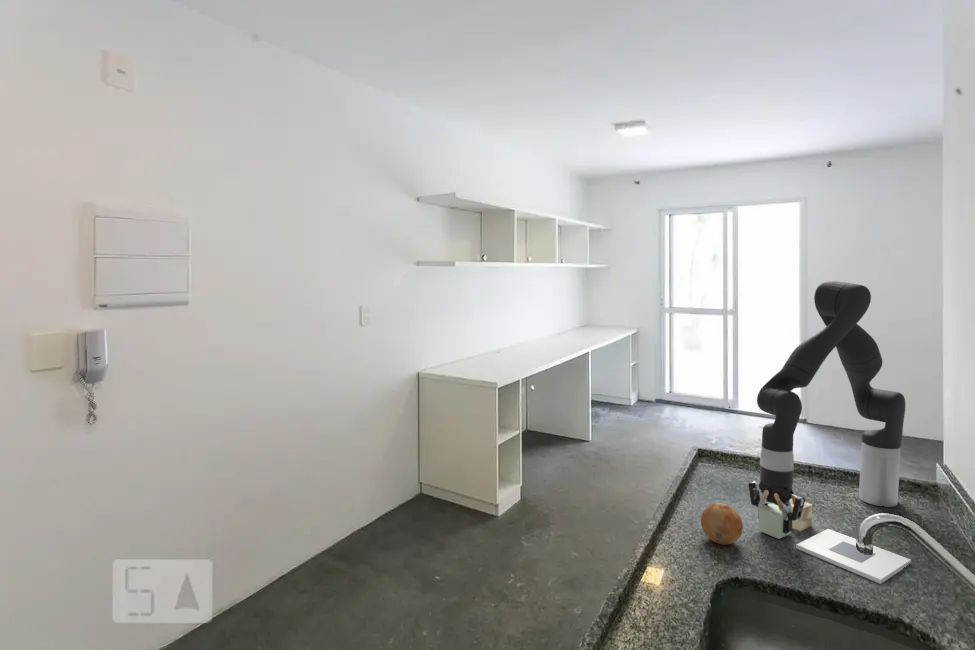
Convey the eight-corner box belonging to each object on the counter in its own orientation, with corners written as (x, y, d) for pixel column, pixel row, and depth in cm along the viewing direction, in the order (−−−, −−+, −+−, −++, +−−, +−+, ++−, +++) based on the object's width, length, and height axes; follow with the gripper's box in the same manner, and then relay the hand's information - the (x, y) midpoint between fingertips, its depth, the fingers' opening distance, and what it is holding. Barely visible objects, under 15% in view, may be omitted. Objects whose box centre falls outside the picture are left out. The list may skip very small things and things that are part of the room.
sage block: (770, 524, 142) (771, 503, 141) (791, 533, 137) (791, 510, 136) (758, 530, 139) (758, 508, 138) (779, 539, 134) (779, 516, 133)
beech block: (790, 518, 147) (791, 497, 146) (811, 526, 142) (812, 504, 141) (779, 523, 144) (780, 502, 143) (800, 531, 139) (801, 509, 139)
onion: (739, 535, 137) (740, 498, 136) (744, 554, 128) (745, 515, 127) (699, 530, 140) (700, 493, 140) (701, 548, 131) (702, 509, 130)
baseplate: (827, 532, 138) (828, 528, 138) (910, 563, 123) (910, 559, 123) (796, 548, 130) (796, 544, 130) (880, 583, 115) (880, 579, 115)
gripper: (813, 470, 132) (811, 535, 134) (758, 454, 144) (756, 514, 146) (797, 476, 128) (794, 543, 130) (741, 459, 140) (740, 521, 142)
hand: (774, 527), depth 138 cm, fingers closed on sage block, 5 cm apart
